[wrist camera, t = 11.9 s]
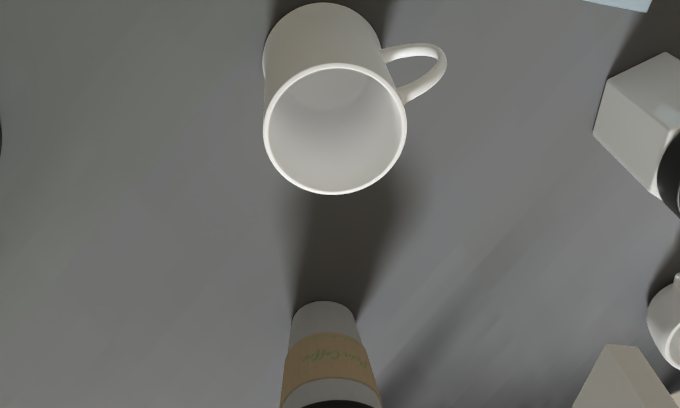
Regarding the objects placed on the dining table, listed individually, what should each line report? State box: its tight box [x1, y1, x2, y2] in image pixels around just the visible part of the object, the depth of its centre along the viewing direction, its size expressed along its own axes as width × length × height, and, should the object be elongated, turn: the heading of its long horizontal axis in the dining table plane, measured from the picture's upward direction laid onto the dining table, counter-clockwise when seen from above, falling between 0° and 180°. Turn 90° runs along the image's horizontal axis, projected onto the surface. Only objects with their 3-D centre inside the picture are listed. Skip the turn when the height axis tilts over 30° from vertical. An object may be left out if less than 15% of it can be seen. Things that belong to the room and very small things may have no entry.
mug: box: [262, 2, 447, 195], centre depth 41 cm, size 12×8×12 cm
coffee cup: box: [280, 301, 382, 408], centre depth 52 cm, size 9×9×15 cm
